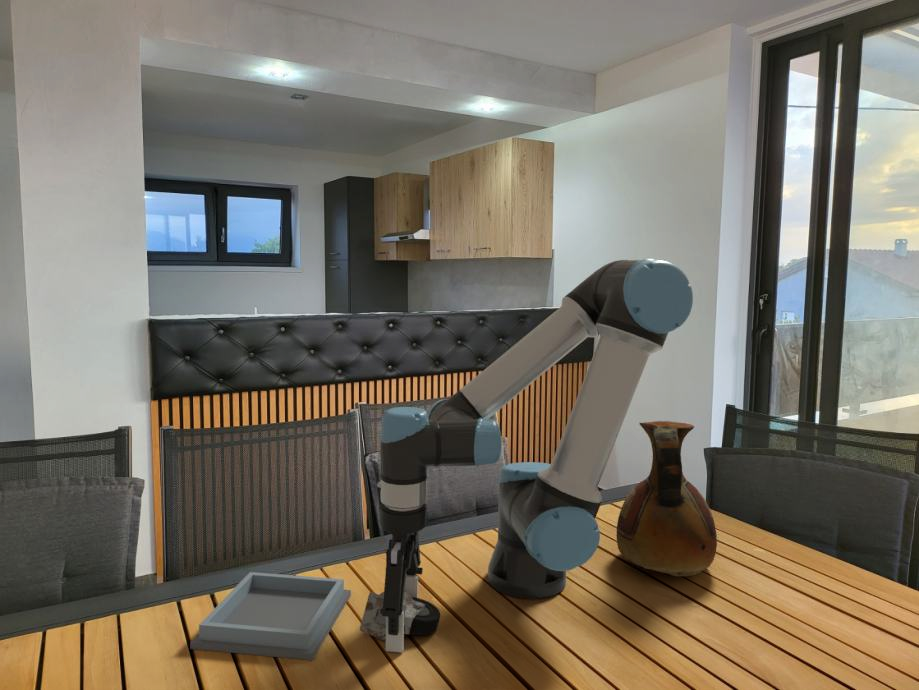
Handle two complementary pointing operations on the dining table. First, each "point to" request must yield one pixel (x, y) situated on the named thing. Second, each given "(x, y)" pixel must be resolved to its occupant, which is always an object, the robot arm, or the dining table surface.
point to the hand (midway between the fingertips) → (402, 629)
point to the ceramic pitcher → (667, 511)
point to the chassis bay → (274, 616)
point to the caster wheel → (417, 616)
